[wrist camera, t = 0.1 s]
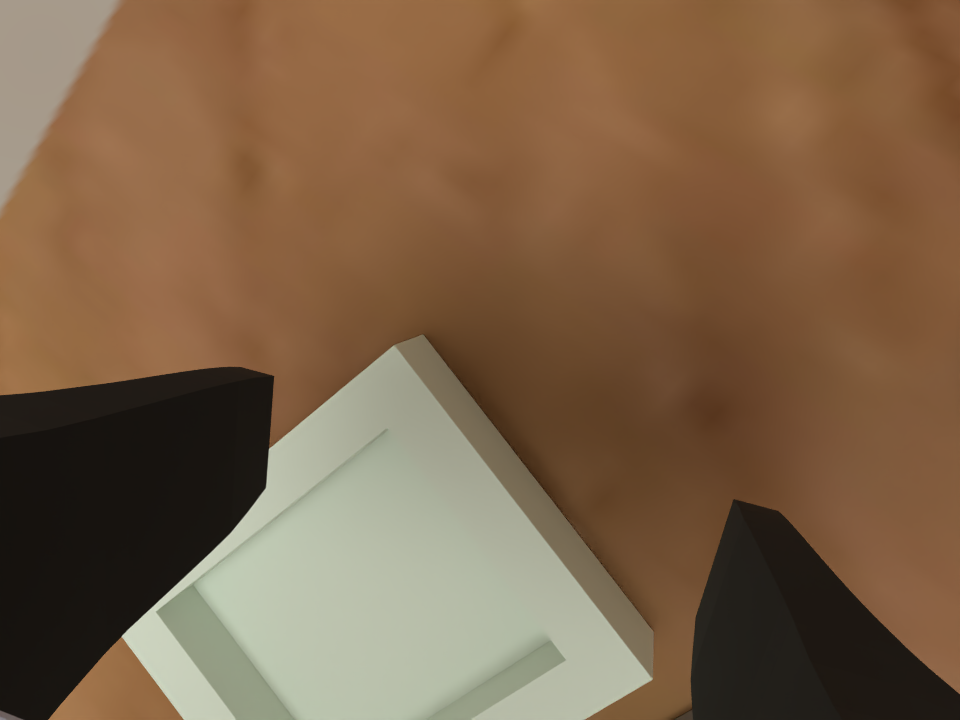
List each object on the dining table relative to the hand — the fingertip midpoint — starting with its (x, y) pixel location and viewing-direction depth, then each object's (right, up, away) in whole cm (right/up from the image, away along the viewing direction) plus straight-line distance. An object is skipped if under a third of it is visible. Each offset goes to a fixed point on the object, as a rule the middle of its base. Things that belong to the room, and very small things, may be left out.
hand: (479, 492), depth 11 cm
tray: (-3, -5, +13) cm, 14 cm away
